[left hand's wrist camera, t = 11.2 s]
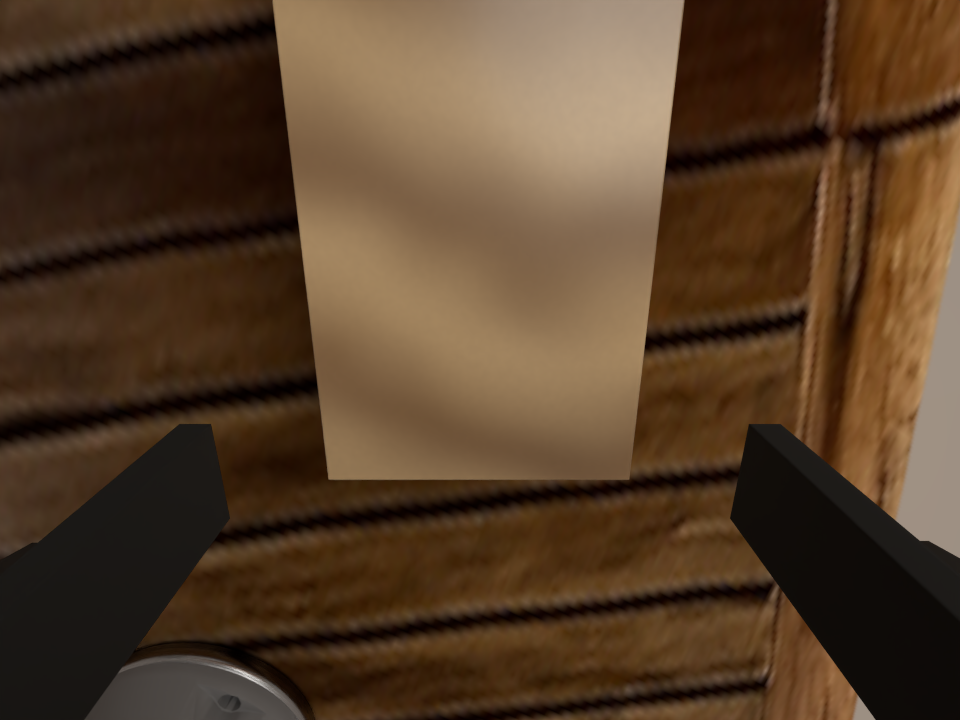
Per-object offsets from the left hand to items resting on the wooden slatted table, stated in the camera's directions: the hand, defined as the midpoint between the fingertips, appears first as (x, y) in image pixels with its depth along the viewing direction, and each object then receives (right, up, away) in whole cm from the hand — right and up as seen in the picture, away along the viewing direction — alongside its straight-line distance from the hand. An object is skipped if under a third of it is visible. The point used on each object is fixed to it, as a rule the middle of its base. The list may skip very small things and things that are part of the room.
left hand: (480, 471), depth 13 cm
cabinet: (0, +11, +11) cm, 15 cm away
